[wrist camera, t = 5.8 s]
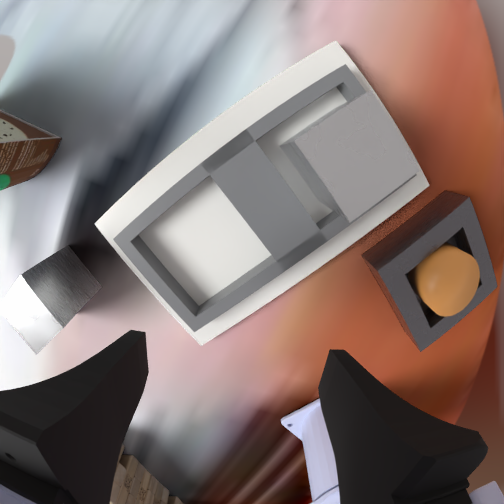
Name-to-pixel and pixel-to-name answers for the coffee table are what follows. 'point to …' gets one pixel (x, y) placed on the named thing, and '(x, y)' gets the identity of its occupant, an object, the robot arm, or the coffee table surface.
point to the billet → (48, 297)
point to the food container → (23, 149)
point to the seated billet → (351, 156)
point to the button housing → (420, 247)
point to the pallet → (215, 218)
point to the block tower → (137, 484)
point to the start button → (446, 280)
